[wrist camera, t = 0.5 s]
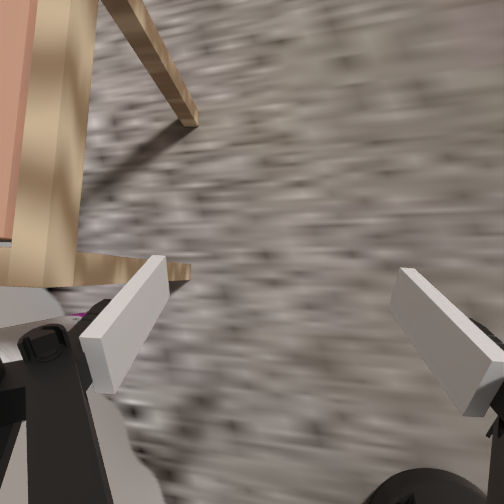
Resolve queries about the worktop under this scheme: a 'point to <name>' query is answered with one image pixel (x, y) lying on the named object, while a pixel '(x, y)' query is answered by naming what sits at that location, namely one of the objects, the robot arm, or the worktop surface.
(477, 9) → the worktop surface
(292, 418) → the worktop surface
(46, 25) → the trapdoor frame
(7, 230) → the trapdoor
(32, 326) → the supplement can
